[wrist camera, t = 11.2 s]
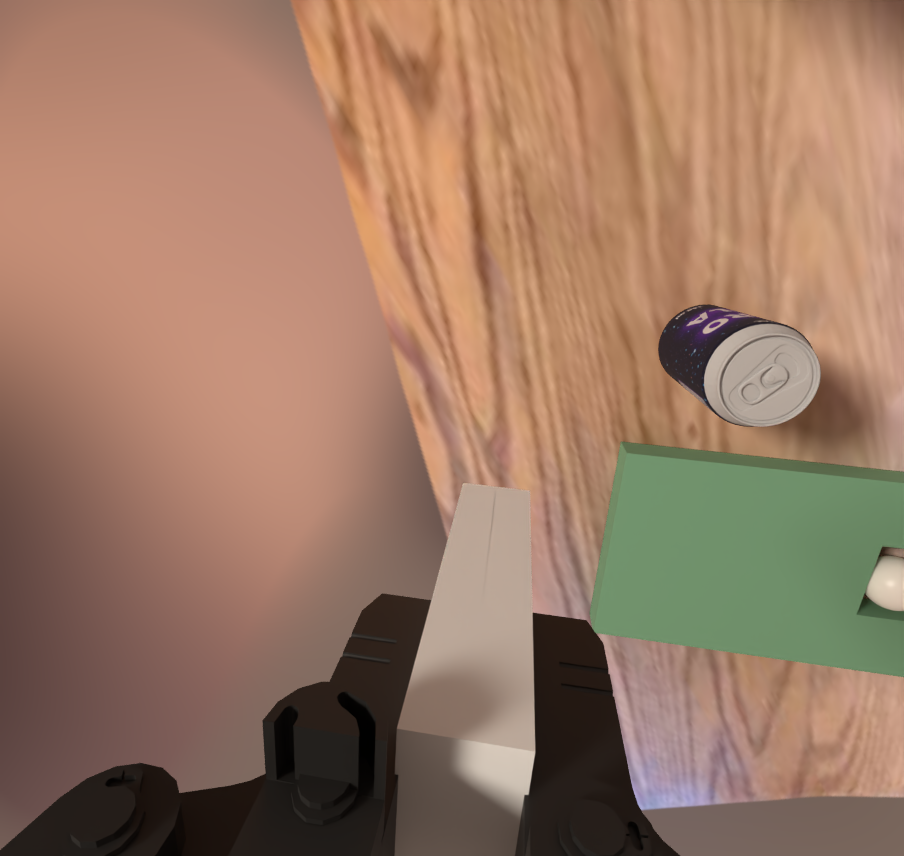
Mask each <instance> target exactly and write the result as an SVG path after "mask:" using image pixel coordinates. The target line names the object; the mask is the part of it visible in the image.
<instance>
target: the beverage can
mask: <svg viewBox="0 0 904 856" xmlns="http://www.w3.org/2000/svg"><path fill="white" fill-rule="evenodd" d="M658 351H659V358H660V362H661V364H662V366H663V368H664V369H665V371H666V372H667V373H668V374H669V375H670V376H671V377H672V378H673V379H675V380H676V381H677V382H678V383H679V384H680V385H682V386H683V387H684V388H685V389H686V390H688V391H689V392H690V393H691V394H692V395H694V396H695V397H696V398H697V399H698V400H700V401H701V402H702V403H703V404H704V405H706V406H707V407H708V408H709V409H710V410H711V411H713V412H714V413H715V414H716V415H718V416H719V417H720V418H722V419H723V420H725V421H727V422H729V423H732V424H735V425H740V426H748V427H754V426H756V427H766V426H773V425H778V424H781V423H783V422H786V421H788V420H790V419H792V418H794V417H795V416H797V415H798V414H799V413H801V412H802V411H803V410H804V409H805V408H806V407H807V406H808V405H809V404H810V402H811V401H812V399H813V398H814V396H815V394H816V392H817V390H818V387H819V383H820V378H821V369H820V363H819V360H818V357H817V356H816V354H815V352H814V350H813V349H812V347H811V345H810V343H809V342H808V340H807V339H806V338H805V337H804V336H803V335H802V334H801V333H800V332H798V331H797V330H795V329H794V328H792V327H790V326H787V325H784V324H781V323H777V322H774V321H770V320H766V319H763V318H759V317H755V316H751V315H748V314H744V313H740V312H737V311H733V310H729V309H726V308H722V307H718V306H714V305H698V306H694V307H690V308H688V309H686V310H684V311H682V312H680V313H679V314H677V315H676V316H675V317H674V318H673V319H671V321H670V322H669V323H668V324H667V325H666V327H665V328H664V330H663V332H662V335H661V337H660V341H659V348H658Z"/></svg>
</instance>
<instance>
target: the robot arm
mask: <svg viewBox="0 0 904 856" xmlns="http://www.w3.org/2000/svg"><path fill="white" fill-rule="evenodd" d="M263 736H264V752H265V769H266V774H264V775H262V776H260V777H257V778H255V779H253V780H251V781H247V782H244V783H239V784H235V785H231V786H225V787H218V788H212V789H206V790H198V791H192V792H185V793H179V790H178V786H177V781H176V780H175V779H174V778H173V777H172V776H171V775H169V773H168V772H166V771H165V770H164V769H163V768H161V767H156V766H152V765H147V764H143V763H138V764H131V765H124V766H117V767H113V768H111V769H109V770H106V771H104V772H101V773H99V774H97V775H94V776H92V777H89V778H87V779H86V780H85V781H83V782H81V783H80V784H79V785H77V786H76V787H74V788H73V789H71V790H70V791H69V792H67V793H66V794H64V795H63V796H62V797H60V798H59V799H58V800H57V801H56V802H54V803H53V804H52V805H51V806H50V807H49V808H48V809H47V810H45V811H44V812H43V813H42V814H41V815H40V816H38V817H37V818H36V819H35V820H34V821H33V822H32V823H31V824H29V825H28V826H27V827H26V828H25V829H24V830H23V831H22V832H20V833H19V834H18V835H17V836H16V837H15V838H14V839H12V840H11V841H10V842H9V843H8V844H7V845H6V846H5V847H3V848H2V849H1V850H0V856H680V855H678V853H676V852H675V851H674V850H673V849H672V848H671V847H669V846H668V845H667V844H666V843H665V842H664V841H663V840H662V839H661V838H660V837H659V835H658V834H657V833H656V832H655V831H654V829H653V827H652V825H651V823H650V822H649V821H648V819H647V818H646V817H645V816H644V814H643V813H642V811H641V809H640V808H639V806H638V804H637V801H636V798H635V795H634V791H633V788H632V784H631V779H630V774H629V769H628V764H627V759H626V754H625V749H624V744H623V739H622V734H621V729H620V724H619V719H618V714H617V709H616V704H615V699H614V697H613V689H612V684H611V679H610V674H608V665H607V660H606V655H605V650H604V645H603V642H602V641H601V640H600V638H599V637H598V636H597V634H596V633H595V631H594V630H593V629H592V627H591V626H590V625H589V623H588V622H587V620H581V619H573V618H566V617H559V616H552V615H545V614H538V613H532V565H531V516H530V491H529V490H520V489H512V488H503V487H495V486H486V485H478V484H469V483H463V486H462V489H461V493H460V497H459V500H458V504H457V508H456V512H455V515H454V519H453V523H452V526H451V530H450V534H449V537H448V541H447V545H446V549H445V552H444V556H443V560H442V563H441V567H440V571H439V574H438V578H437V582H436V585H435V589H434V593H433V597H432V600H424V599H417V598H410V597H403V596H396V595H389V594H381V595H380V596H379V597H378V598H376V599H375V600H374V601H373V602H372V603H371V604H369V605H368V606H367V607H366V608H365V609H363V610H362V612H361V614H360V616H359V618H358V621H357V623H356V625H355V627H354V629H353V632H352V636H351V637H350V638H349V640H348V643H347V645H346V647H345V649H344V652H343V656H342V657H341V658H340V660H339V662H338V664H337V667H336V669H335V671H334V673H333V675H332V678H331V680H330V682H319V683H316V684H313V685H309V686H306V687H302V688H299V689H297V690H296V691H294V692H293V693H291V694H289V695H288V696H286V697H285V698H283V699H282V700H280V701H278V702H277V704H276V705H275V706H274V707H273V708H272V710H271V711H270V712H269V713H268V715H267V716H266V717H265V718H264V719H263Z"/></svg>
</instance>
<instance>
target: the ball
mask: <svg viewBox="0 0 904 856" xmlns="http://www.w3.org/2000/svg"><path fill="white" fill-rule="evenodd" d="M865 594H866V595H867V597H868V598H869V599H870V600H872V601H873V602H874V603H876V604H877V605H879V606H881V607H883V608H886V609H889V610H893V611H904V558H901V557H897V556H880V557H878V559H877V561H876V564H875V567H874V569H873V572H872V575H871V577H870V580H869V583H868V585H867V588H866V591H865Z"/></svg>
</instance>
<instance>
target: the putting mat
mask: <svg viewBox="0 0 904 856" xmlns="http://www.w3.org/2000/svg"><path fill="white" fill-rule="evenodd" d="M882 546H885V547H893V548H901V549H904V472H900V471H890V470H881V469H872V468H862V467H853V466H844V465H834V464H825V463H816V462H806V461H797V460H788V459H778V458H769V457H760V456H750V455H741V454H732V453H722V452H713V451H703V450H694V449H685V448H675V447H666V446H657V445H647V444H638V443H629V442H621V444H620V450H619V455H618V461H617V466H616V472H615V477H614V483H613V488H612V494H611V499H610V504H609V510H608V515H607V521H606V526H605V532H604V537H603V543H602V548H601V554H600V559H599V565H598V570H597V576H596V581H595V587H594V592H593V598H592V603H591V609H590V618H591V624H592V629H593V630H594V631H595V633H600V634H607V635H614V636H621V637H628V638H635V639H642V640H649V641H656V642H663V643H670V644H677V645H684V646H691V647H698V648H705V649H712V650H719V651H726V652H733V653H740V654H747V655H753V656H760V657H767V658H774V659H781V660H788V661H795V662H802V663H809V664H816V665H823V666H830V667H837V668H844V669H851V670H858V671H865V672H872V673H879V674H886V675H893V676H900V677H904V611H893V610H889V609H886V608H883V607H881V606H879V605H877V604H876V603H874V602H873V601H872V600H870V599H864V598H863V596H864V593H865V591H866V588H867V585H868V583H869V580H870V577H871V575H872V572H873V569H874V567H875V564H876V561H877V559H878V556H879V553H880V551H881V548H882Z"/></svg>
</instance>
